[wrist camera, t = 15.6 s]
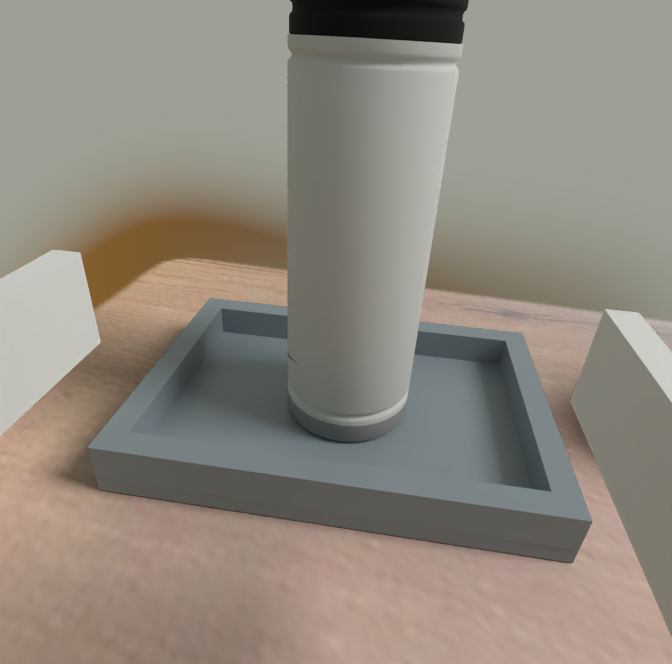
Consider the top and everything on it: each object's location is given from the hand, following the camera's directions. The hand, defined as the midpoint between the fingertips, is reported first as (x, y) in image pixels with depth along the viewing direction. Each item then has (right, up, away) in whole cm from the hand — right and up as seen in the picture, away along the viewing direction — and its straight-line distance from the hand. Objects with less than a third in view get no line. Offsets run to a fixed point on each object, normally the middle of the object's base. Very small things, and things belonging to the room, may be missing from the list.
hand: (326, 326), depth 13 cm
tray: (+1, -5, +14) cm, 15 cm away
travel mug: (+1, -4, +13) cm, 14 cm away
